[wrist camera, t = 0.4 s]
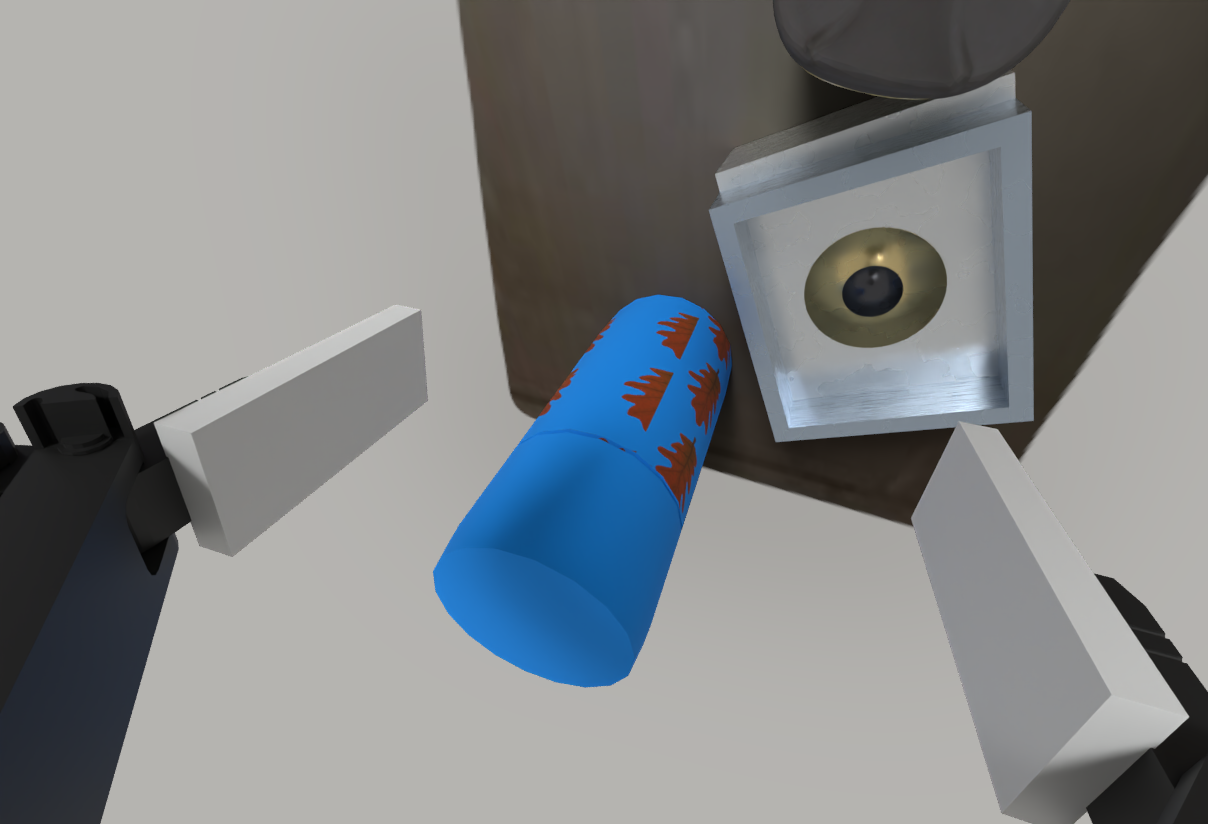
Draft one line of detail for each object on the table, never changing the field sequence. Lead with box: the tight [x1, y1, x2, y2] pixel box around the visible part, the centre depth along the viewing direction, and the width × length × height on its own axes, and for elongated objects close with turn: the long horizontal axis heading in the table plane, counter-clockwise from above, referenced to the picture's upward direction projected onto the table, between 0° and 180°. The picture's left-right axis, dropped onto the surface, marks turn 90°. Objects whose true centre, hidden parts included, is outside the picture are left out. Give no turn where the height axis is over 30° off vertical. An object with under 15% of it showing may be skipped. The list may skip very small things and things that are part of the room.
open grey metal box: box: [709, 70, 1034, 442], centre depth 31 cm, size 13×17×9 cm
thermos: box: [433, 295, 732, 687], centre depth 35 cm, size 11×11×25 cm
